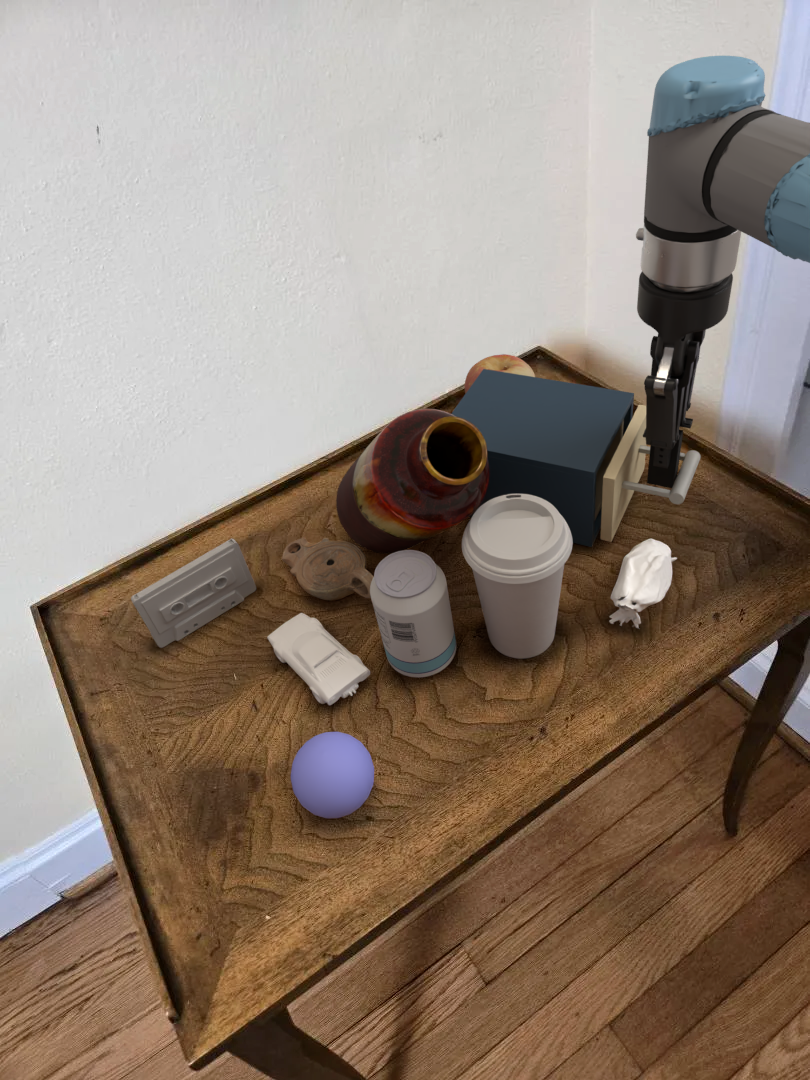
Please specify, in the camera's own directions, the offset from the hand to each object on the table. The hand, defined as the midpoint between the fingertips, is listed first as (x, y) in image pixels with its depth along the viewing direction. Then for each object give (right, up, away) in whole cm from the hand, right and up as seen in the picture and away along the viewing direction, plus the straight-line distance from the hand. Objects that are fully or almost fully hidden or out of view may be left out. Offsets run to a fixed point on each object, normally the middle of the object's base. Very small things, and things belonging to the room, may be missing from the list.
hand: (661, 481), depth 84 cm
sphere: (-32, -28, -14) cm, 45 cm away
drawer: (-7, -1, +6) cm, 9 cm away
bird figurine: (-3, -11, -3) cm, 12 cm away
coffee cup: (-15, -15, -5) cm, 22 cm away
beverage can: (-25, -18, -5) cm, 31 cm away
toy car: (-35, -19, -4) cm, 40 cm away
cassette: (-48, -15, +3) cm, 50 cm away
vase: (-30, -3, +6) cm, 31 cm away
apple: (-14, +10, +20) cm, 26 cm away
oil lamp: (-34, -11, +3) cm, 36 cm away
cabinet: (-12, 0, +9) cm, 15 cm away
